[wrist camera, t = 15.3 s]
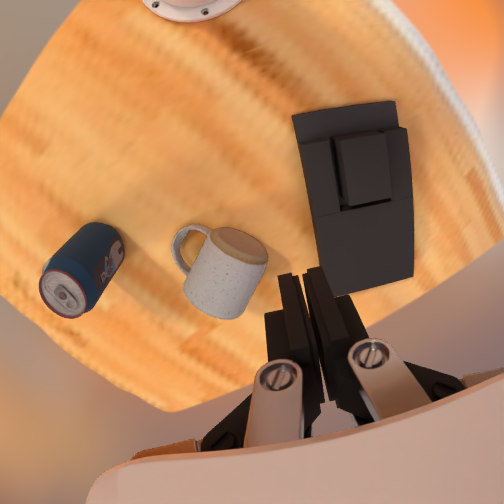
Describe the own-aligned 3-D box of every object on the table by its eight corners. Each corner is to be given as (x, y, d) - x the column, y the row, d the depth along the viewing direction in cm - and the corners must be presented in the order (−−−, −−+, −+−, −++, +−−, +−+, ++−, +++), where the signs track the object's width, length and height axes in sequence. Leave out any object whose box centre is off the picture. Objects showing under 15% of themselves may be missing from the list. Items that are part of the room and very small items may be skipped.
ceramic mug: (271, 239, 38) (275, 271, 31) (243, 292, 42) (242, 330, 35) (187, 204, 36) (172, 230, 29) (165, 262, 40) (150, 296, 33)
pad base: (291, 115, 32) (295, 116, 29) (392, 100, 31) (402, 101, 28) (322, 286, 42) (327, 299, 39) (405, 266, 41) (413, 276, 38)
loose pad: (330, 136, 32) (339, 140, 29) (372, 129, 32) (385, 133, 29) (340, 196, 35) (349, 206, 32) (380, 188, 35) (392, 197, 32)
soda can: (71, 237, 38) (24, 286, 27) (103, 207, 36) (55, 252, 25) (104, 276, 40) (67, 332, 30) (138, 249, 39) (104, 306, 28)
